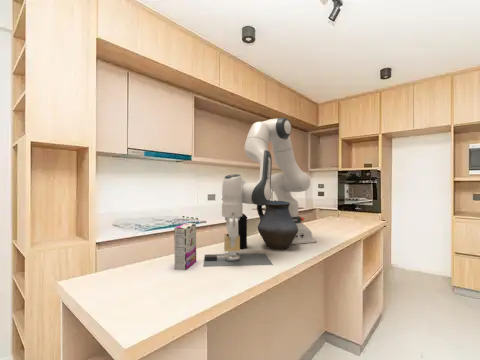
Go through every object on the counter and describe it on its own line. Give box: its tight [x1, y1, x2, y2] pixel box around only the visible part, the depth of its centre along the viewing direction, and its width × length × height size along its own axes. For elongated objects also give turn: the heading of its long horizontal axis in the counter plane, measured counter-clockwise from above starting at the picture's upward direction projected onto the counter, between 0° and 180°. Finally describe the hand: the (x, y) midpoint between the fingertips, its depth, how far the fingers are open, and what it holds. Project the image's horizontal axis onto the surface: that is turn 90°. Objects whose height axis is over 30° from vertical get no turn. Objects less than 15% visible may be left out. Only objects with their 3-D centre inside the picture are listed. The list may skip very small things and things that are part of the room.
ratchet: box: [204, 251, 241, 262], centre depth 111 cm, size 15×7×5 cm, turn 96°
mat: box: [202, 252, 274, 268], centre depth 112 cm, size 28×17×1 cm, turn 96°
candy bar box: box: [173, 222, 197, 271], centre depth 104 cm, size 11×5×16 cm, turn 168°
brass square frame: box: [223, 233, 241, 252], centre depth 112 cm, size 6×6×6 cm
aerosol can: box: [238, 212, 248, 251], centre depth 132 cm, size 8×8×20 cm
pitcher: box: [256, 199, 298, 251], centre depth 134 cm, size 21×22×25 cm
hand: (231, 244), depth 112 cm, fingers closed on brass square frame, 6 cm apart
